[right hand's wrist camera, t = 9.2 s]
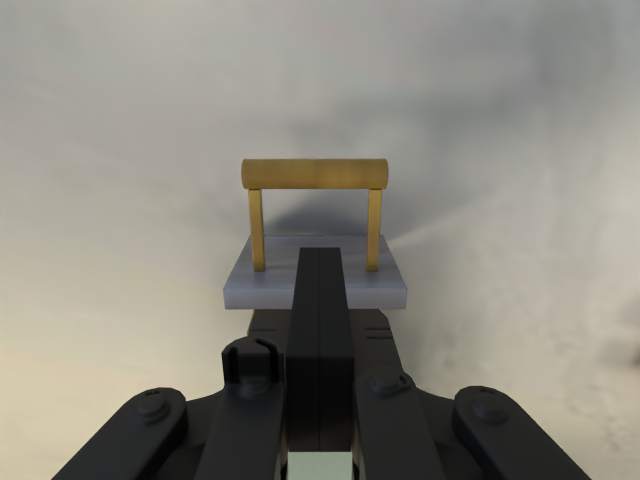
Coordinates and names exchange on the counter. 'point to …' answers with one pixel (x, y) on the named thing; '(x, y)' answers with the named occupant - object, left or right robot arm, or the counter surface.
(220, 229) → the counter surface
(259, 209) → the drawer
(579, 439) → the counter surface
